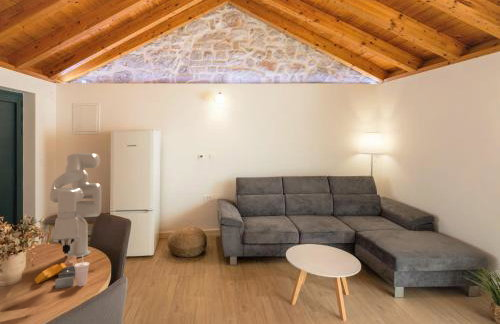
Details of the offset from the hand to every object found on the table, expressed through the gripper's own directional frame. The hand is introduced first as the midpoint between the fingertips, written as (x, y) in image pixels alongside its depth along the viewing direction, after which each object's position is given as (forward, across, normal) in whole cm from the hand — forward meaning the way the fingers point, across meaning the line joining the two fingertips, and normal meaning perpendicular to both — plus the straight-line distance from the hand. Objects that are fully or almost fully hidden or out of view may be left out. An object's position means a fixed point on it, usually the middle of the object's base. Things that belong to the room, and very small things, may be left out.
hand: (66, 253), depth 147 cm
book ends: (+13, 0, 0) cm, 14 cm away
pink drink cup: (+14, -7, +8) cm, 17 cm away
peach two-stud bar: (+14, 0, -18) cm, 22 cm away
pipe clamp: (+12, +9, -7) cm, 17 cm away
